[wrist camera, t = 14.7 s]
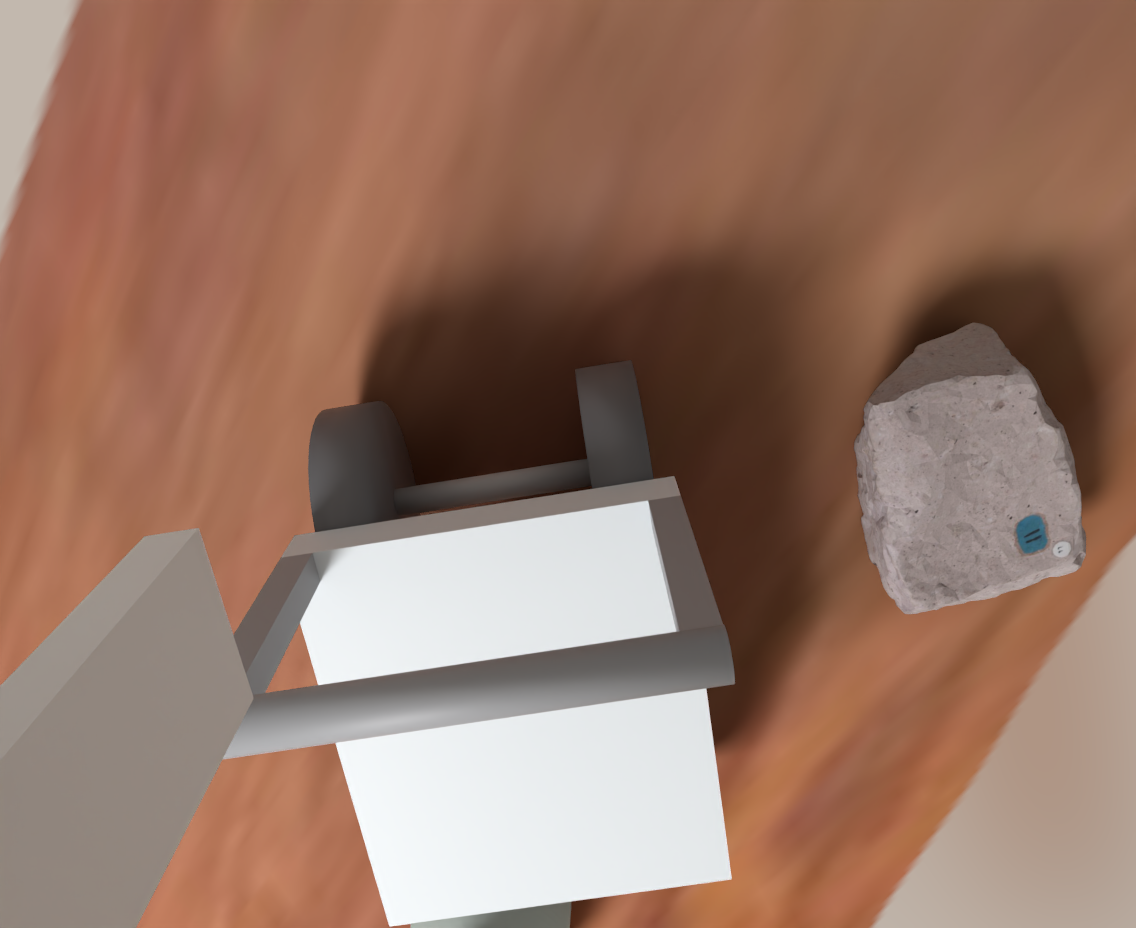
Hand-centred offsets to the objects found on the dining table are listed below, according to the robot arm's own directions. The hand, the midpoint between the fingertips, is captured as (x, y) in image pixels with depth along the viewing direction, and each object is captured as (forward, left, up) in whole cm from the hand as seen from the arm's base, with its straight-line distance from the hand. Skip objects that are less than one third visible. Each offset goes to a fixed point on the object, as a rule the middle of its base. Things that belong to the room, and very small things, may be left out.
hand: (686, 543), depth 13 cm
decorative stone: (-15, +13, -32) cm, 38 cm away
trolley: (+6, +17, -32) cm, 36 cm away
